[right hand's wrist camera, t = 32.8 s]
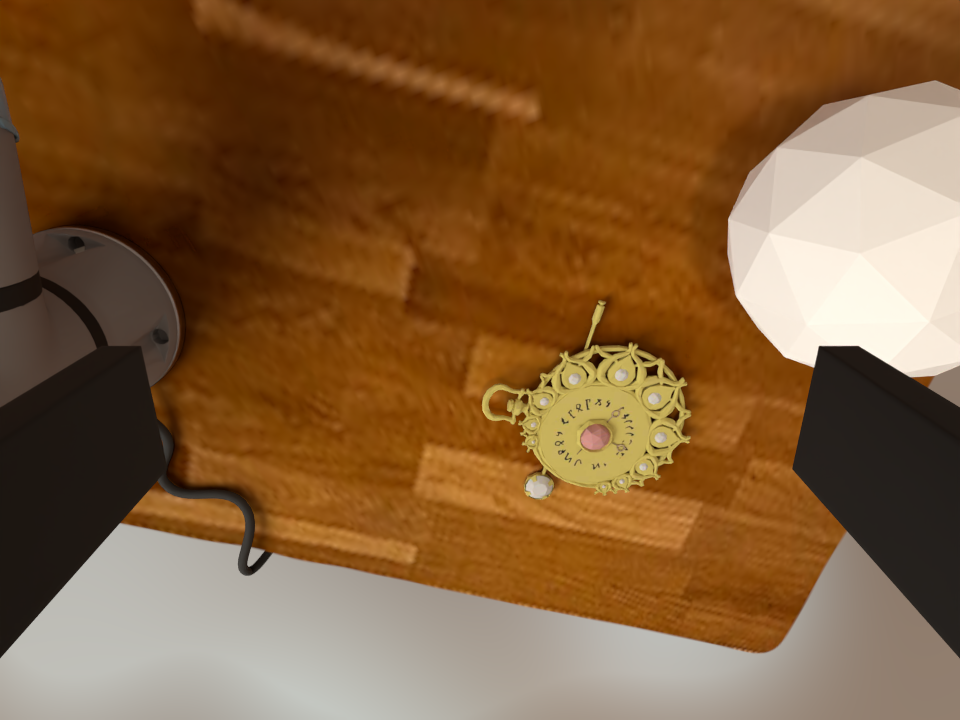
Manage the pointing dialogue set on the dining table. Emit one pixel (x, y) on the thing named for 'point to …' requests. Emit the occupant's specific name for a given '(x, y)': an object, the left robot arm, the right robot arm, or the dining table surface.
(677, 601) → the dining table surface
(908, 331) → the sphere
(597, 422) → the decorative object
